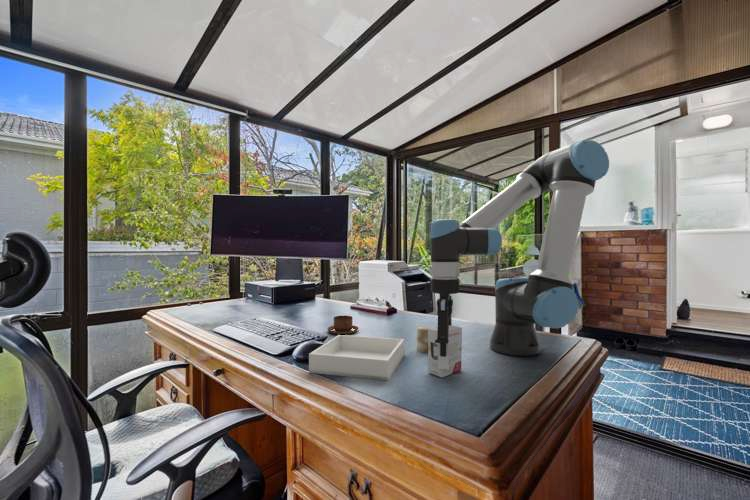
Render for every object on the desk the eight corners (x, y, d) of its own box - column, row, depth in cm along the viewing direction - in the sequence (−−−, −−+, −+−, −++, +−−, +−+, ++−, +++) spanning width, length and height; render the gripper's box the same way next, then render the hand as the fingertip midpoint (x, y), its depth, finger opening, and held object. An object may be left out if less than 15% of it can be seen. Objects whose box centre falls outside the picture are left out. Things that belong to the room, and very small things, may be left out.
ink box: (448, 366, 99) (448, 323, 99) (463, 370, 95) (463, 326, 95) (426, 373, 93) (426, 328, 93) (441, 378, 89) (441, 331, 89)
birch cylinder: (433, 348, 116) (433, 327, 116) (431, 353, 111) (431, 330, 111) (418, 347, 118) (418, 326, 118) (415, 351, 113) (415, 329, 113)
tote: (404, 355, 109) (404, 339, 109) (388, 380, 88) (388, 360, 88) (339, 350, 115) (338, 334, 115) (309, 372, 94) (308, 353, 94)
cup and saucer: (364, 333, 139) (364, 317, 139) (340, 338, 130) (340, 321, 130) (345, 328, 147) (345, 313, 147) (321, 333, 139) (321, 317, 139)
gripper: (435, 274, 106) (435, 349, 106) (425, 281, 84) (425, 375, 84) (460, 275, 104) (461, 351, 104) (457, 282, 82) (457, 378, 82)
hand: (445, 362), depth 94 cm, fingers closed on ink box, 9 cm apart
